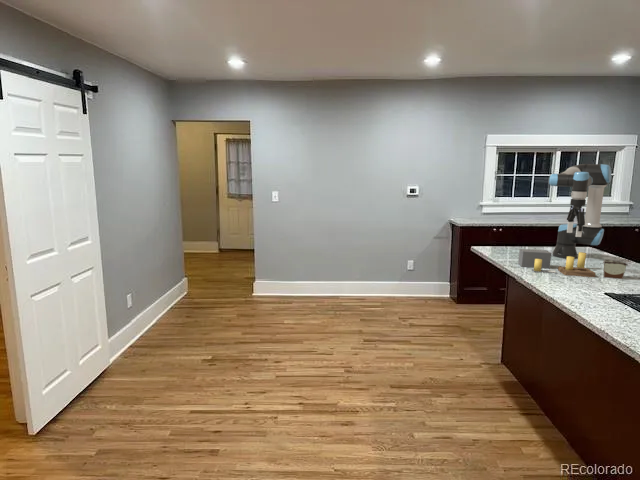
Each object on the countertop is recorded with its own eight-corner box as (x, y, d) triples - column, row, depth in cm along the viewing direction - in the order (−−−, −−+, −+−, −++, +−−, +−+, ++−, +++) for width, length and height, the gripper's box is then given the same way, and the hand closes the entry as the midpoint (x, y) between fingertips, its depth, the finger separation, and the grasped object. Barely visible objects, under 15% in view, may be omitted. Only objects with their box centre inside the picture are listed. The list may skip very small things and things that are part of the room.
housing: (518, 263, 275) (519, 248, 273) (545, 265, 272) (547, 250, 270) (521, 267, 267) (523, 251, 265) (549, 268, 264) (551, 253, 262)
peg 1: (563, 272, 256) (565, 256, 254) (570, 272, 256) (572, 256, 254) (566, 273, 252) (568, 257, 251) (573, 274, 252) (575, 257, 250)
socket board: (557, 270, 261) (558, 266, 260) (586, 272, 258) (586, 268, 257) (565, 275, 249) (565, 271, 249) (594, 277, 246) (595, 273, 246)
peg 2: (575, 267, 269) (577, 252, 267) (582, 267, 268) (584, 252, 266) (578, 269, 265) (580, 253, 263) (585, 269, 264) (587, 253, 262)
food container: (622, 276, 248) (624, 260, 246) (625, 279, 242) (628, 262, 240) (597, 274, 252) (600, 258, 250) (600, 277, 246) (603, 260, 244)
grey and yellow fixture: (531, 269, 260) (532, 258, 259) (554, 271, 258) (556, 259, 256) (534, 272, 255) (535, 260, 254) (557, 273, 253) (558, 261, 252)
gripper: (563, 196, 258) (559, 230, 263) (579, 200, 234) (575, 238, 239) (577, 196, 257) (572, 231, 261) (594, 201, 233) (589, 238, 237)
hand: (573, 234), depth 250 cm, fingers open, 13 cm apart
